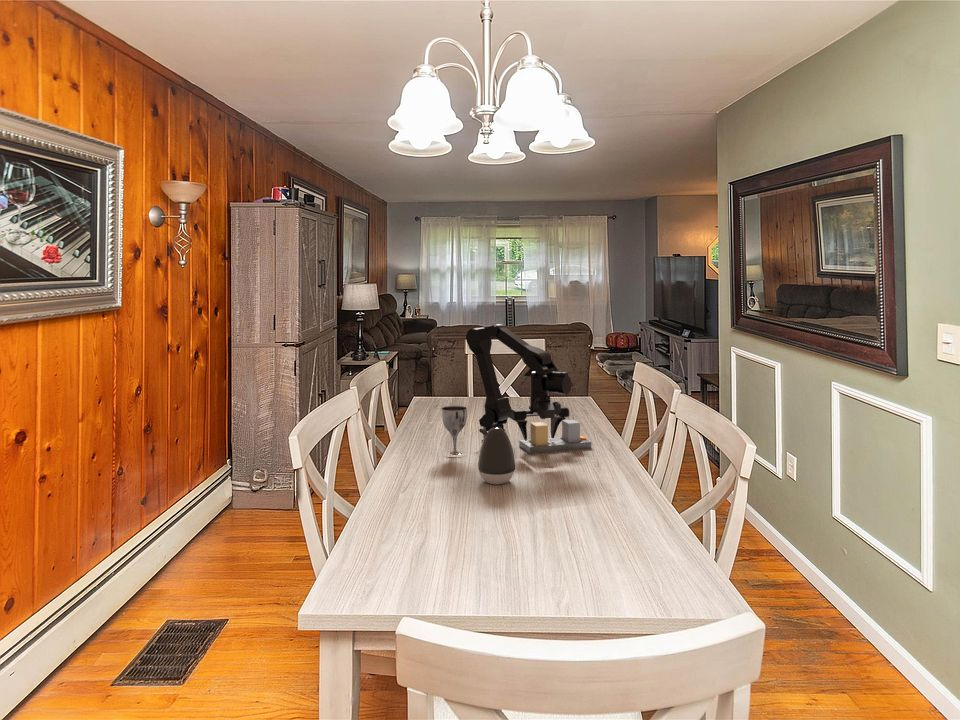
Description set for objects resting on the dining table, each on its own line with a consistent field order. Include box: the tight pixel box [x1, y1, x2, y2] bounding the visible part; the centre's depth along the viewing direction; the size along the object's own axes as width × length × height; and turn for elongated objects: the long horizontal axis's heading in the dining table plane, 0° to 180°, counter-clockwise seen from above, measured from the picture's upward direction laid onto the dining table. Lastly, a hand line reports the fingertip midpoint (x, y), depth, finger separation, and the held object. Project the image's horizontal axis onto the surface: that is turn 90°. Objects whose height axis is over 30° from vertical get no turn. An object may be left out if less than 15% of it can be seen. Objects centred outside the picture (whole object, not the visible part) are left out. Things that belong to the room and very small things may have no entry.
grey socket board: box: [518, 435, 592, 455], centre depth 214 cm, size 21×10×4 cm, turn 106°
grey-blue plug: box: [561, 419, 581, 443], centre depth 215 cm, size 4×5×8 cm
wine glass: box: [441, 405, 468, 455], centre depth 209 cm, size 8×8×15 cm
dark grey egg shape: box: [477, 427, 516, 485], centre depth 182 cm, size 10×10×15 cm
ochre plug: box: [529, 421, 549, 446], centre depth 212 cm, size 4×5×8 cm
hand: (539, 439), depth 212 cm, fingers open, 9 cm apart
